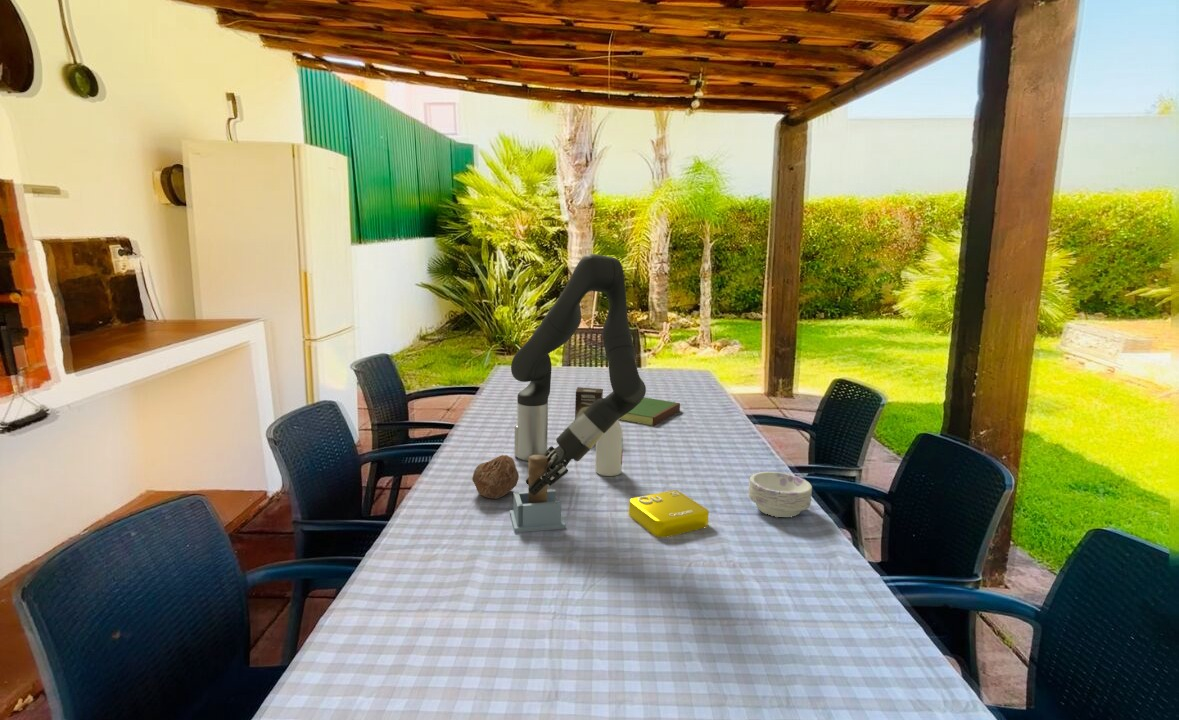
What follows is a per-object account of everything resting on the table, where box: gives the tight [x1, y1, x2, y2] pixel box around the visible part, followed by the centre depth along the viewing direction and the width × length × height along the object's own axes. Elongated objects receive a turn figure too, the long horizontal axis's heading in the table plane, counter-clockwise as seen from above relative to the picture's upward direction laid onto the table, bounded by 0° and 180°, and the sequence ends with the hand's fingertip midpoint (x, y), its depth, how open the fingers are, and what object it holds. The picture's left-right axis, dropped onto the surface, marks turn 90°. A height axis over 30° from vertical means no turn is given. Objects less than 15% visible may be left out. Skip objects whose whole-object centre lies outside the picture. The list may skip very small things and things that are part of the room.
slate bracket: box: [509, 489, 567, 533], centre depth 154 cm, size 12×10×6 cm
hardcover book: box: [618, 396, 681, 427], centre depth 248 cm, size 25×19×4 cm
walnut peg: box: [528, 455, 548, 503], centre depth 152 cm, size 4×4×13 cm
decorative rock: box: [472, 454, 520, 499], centre depth 169 cm, size 13×11×10 cm
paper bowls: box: [748, 471, 813, 518], centre depth 163 cm, size 15×15×8 cm
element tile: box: [628, 489, 710, 538], centre depth 156 cm, size 15×15×5 cm
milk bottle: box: [595, 419, 624, 477], centre depth 185 cm, size 8×8×20 cm
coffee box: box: [574, 386, 604, 420], centre depth 219 cm, size 9×6×16 cm
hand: (529, 488), depth 152 cm, fingers closed on walnut peg, 4 cm apart
